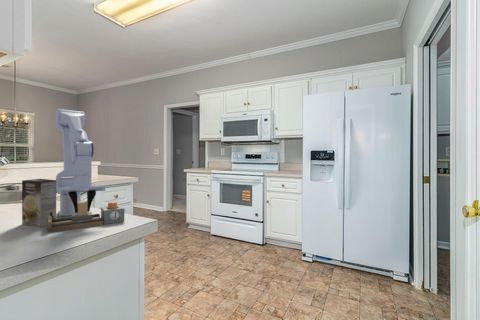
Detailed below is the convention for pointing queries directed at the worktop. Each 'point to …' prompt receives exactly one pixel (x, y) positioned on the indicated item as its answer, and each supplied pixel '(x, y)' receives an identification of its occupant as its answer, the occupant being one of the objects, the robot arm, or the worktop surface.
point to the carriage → (82, 212)
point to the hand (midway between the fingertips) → (82, 211)
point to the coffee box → (38, 201)
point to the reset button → (112, 205)
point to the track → (72, 223)
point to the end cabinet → (112, 214)
